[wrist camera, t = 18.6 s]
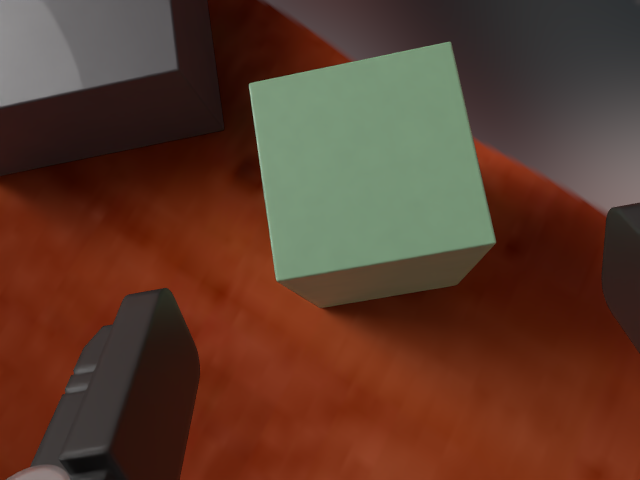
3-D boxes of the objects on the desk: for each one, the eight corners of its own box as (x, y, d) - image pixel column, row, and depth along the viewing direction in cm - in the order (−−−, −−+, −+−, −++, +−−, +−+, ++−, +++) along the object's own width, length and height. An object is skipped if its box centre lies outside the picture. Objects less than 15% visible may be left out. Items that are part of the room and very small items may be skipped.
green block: (319, 308, 21) (276, 282, 13) (299, 178, 22) (248, 82, 14) (457, 285, 20) (497, 243, 13) (430, 153, 21) (451, 40, 14)
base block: (-11, 178, 24) (-116, 133, 19) (-19, -32, 26) (-115, -123, 21) (225, 130, 23) (179, 69, 18) (196, -84, 25) (148, -191, 20)
